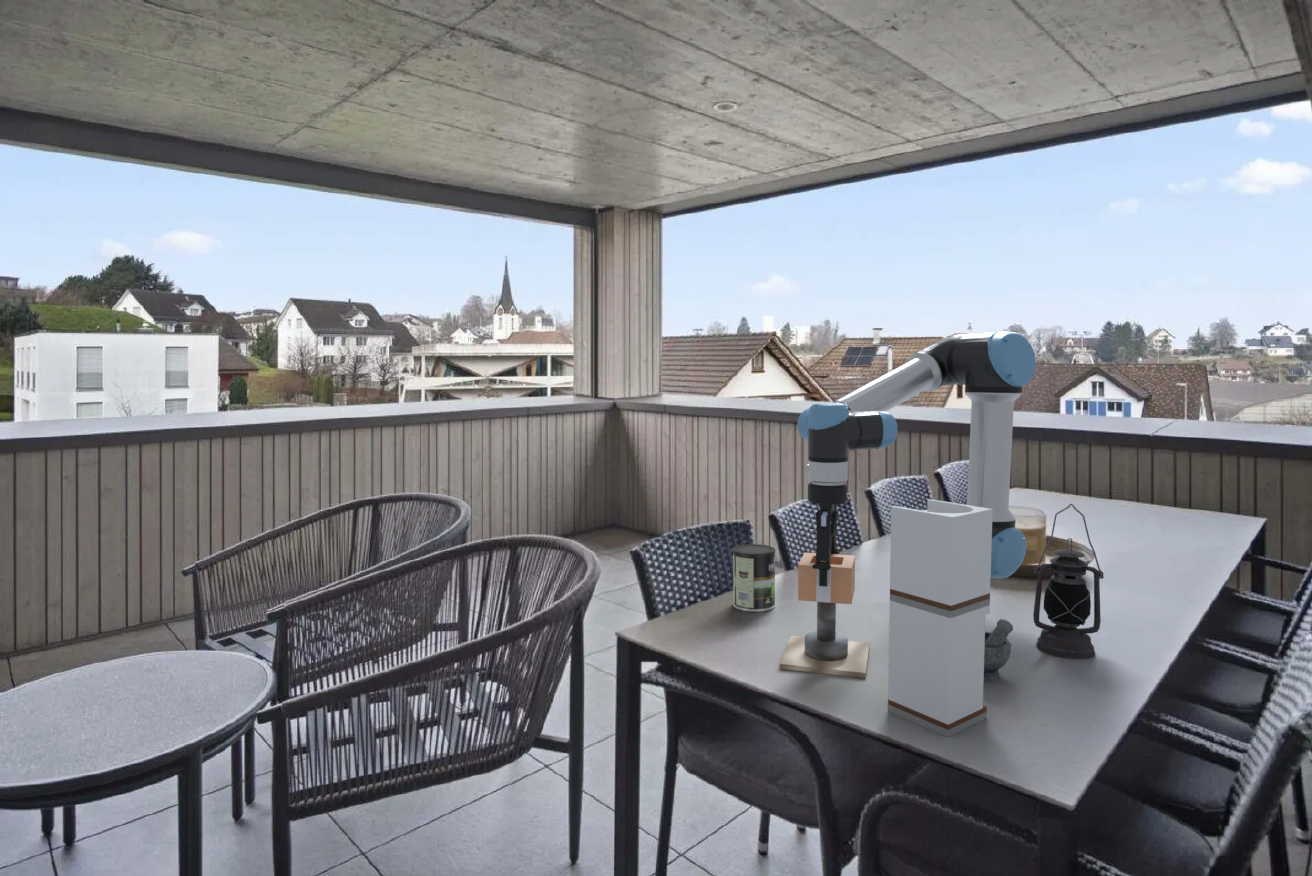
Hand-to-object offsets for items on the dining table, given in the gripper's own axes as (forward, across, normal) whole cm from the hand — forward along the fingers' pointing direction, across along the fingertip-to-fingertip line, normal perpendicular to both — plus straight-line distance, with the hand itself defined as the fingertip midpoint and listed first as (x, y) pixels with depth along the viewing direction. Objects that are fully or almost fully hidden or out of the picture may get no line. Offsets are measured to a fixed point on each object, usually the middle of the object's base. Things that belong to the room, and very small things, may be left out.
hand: (826, 593), depth 152 cm
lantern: (+13, -18, +46) cm, 51 cm away
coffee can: (+13, -29, -20) cm, 38 cm away
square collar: (0, 0, 0) cm, 0 cm away
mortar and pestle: (+13, +1, +29) cm, 32 cm away
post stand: (+13, 0, 0) cm, 13 cm away
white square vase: (+13, +20, +20) cm, 31 cm away
